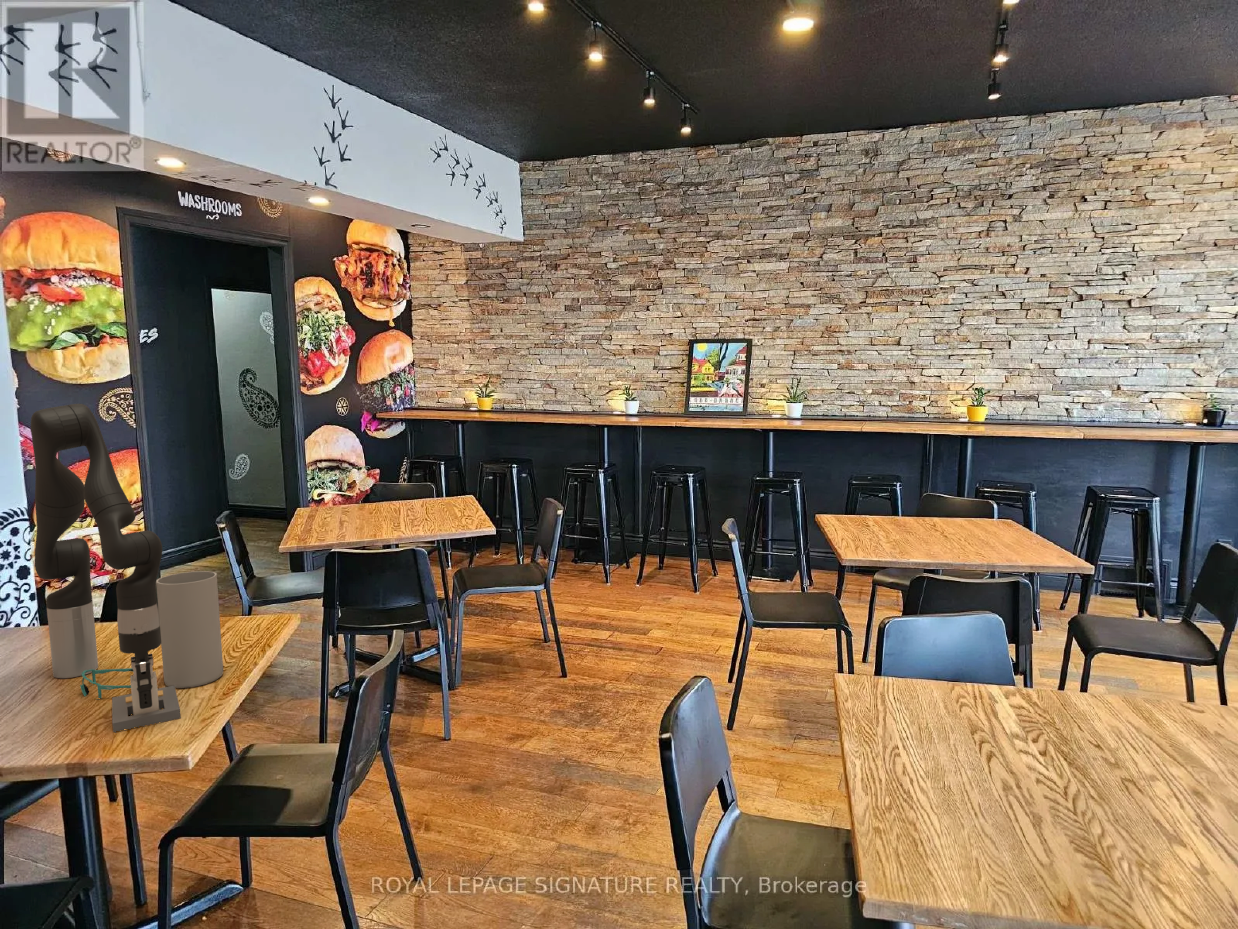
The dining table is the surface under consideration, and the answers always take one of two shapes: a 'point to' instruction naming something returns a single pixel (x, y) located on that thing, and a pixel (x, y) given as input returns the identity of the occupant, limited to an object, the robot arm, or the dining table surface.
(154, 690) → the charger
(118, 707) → the plate
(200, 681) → the cylinder vase
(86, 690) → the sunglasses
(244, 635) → the dining table surface
